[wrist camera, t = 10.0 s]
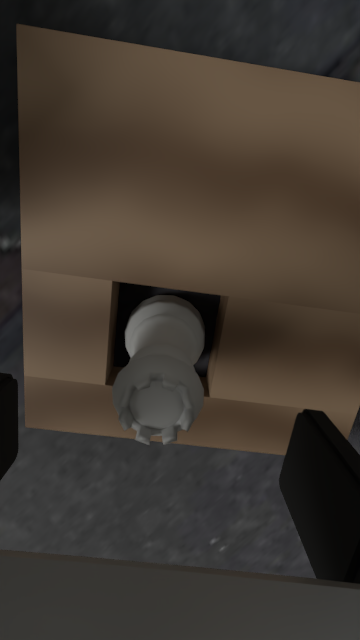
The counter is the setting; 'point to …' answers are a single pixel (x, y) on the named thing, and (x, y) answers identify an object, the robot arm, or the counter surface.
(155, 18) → the counter surface
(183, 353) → the rook chess piece
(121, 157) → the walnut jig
